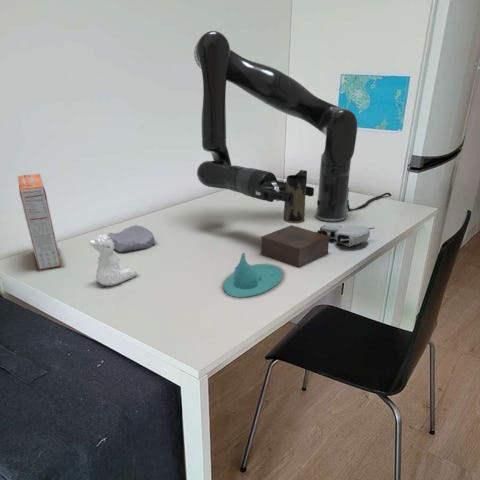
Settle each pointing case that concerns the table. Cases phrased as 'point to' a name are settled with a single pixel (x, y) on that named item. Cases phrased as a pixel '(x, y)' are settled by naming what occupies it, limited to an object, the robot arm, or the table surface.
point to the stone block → (132, 238)
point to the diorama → (251, 279)
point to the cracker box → (39, 221)
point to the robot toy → (346, 233)
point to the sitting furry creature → (109, 263)
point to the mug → (296, 197)
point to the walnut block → (294, 245)
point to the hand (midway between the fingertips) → (303, 195)
